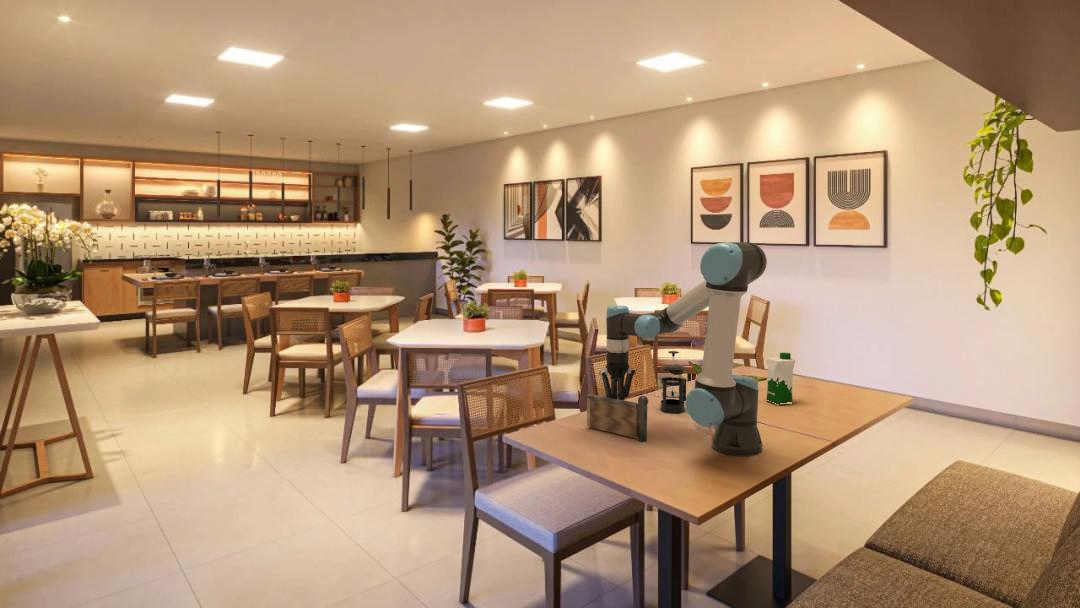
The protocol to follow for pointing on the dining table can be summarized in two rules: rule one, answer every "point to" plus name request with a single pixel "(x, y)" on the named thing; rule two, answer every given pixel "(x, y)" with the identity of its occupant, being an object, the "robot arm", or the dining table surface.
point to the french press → (672, 404)
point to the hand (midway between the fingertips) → (617, 417)
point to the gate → (613, 415)
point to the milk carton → (780, 378)
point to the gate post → (642, 419)
